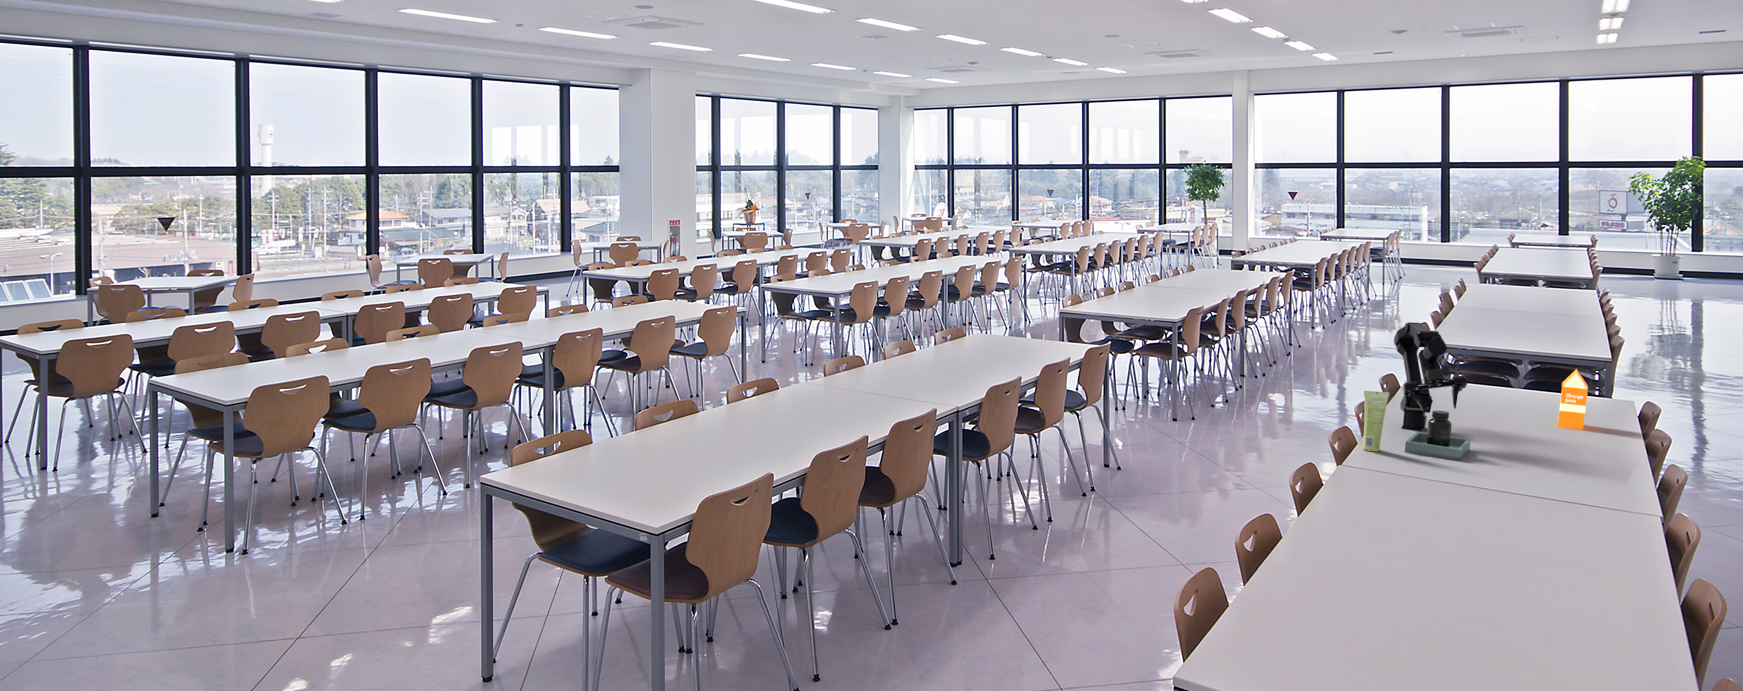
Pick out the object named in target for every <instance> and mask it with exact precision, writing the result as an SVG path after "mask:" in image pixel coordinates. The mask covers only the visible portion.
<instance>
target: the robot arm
mask: <svg viewBox="0 0 1743 691" xmlns="http://www.w3.org/2000/svg"><path fill="white" fill-rule="evenodd" d="M1393 343H1394V346H1395V348H1396V351H1397V353H1399V354H1400V355H1401V356H1402V359H1403V360H1402V361H1403V365H1404V371H1405V377H1406V382H1405V383H1403V388H1402V389H1403V390H1402V391H1403V397H1402V399H1401V401H1400V410H1401V411H1402V412H1403V422H1402V426H1401V429H1405V430H1413V431H1418V432H1422V431H1423V430H1424V429H1425V428H1427V418H1428V416H1427V415H1426V413H1430V412H1431V411H1432V410H1431V409H1432V404H1433V402H1434V400H1433V398H1432V396H1431V393H1430V389H1438V388H1448V387H1451V388H1452V389H1451V397H1452V398H1451V399H1452V406H1453V409H1454V410H1455V409H1456V408H1457V403H1458V396H1459V392H1462V391H1463V389H1466V387H1467V385H1468V381H1467V380H1468V379H1467V377H1466V376H1465V375H1460V376H1452V377H1451V380H1445V376H1450V375H1451V371H1450V366H1449V365H1442V366H1441V364H1440V359H1441V358H1442V356H1444V354H1445V353H1446V352H1447V348H1448V346H1447V344H1446V342H1445V340H1444V339H1443V338H1442V335H1441V334H1440V332H1439V331H1437V330H1429V329H1427V328H1426V327H1425V326H1423V324H1422V323H1420V322H1406V323H1405V325H1404V326H1402V327H1401V328H1399V329H1398V330H1397V331H1396V333H1395V335H1394V337H1393ZM1420 348H1422V349H1420ZM1419 350H1420V351H1419ZM1421 373H1422V374H1421ZM1422 378H1423V380H1422ZM1423 382H1424V383H1423Z"/></svg>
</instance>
